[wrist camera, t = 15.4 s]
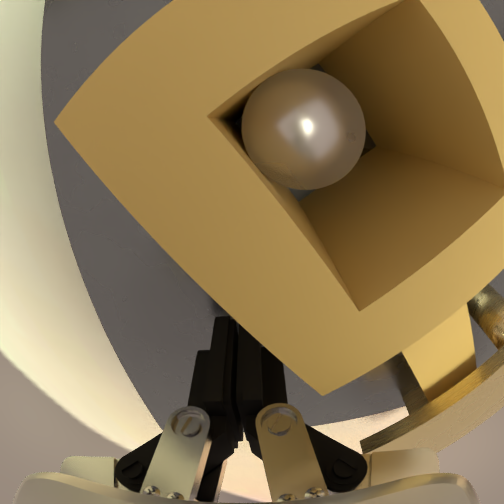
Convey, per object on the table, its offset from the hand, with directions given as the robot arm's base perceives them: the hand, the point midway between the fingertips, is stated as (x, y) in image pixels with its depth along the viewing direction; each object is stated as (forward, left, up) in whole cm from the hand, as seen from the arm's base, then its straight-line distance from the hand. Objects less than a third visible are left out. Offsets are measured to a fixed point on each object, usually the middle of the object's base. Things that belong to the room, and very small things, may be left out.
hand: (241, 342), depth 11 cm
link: (-3, +6, -1) cm, 7 cm away
